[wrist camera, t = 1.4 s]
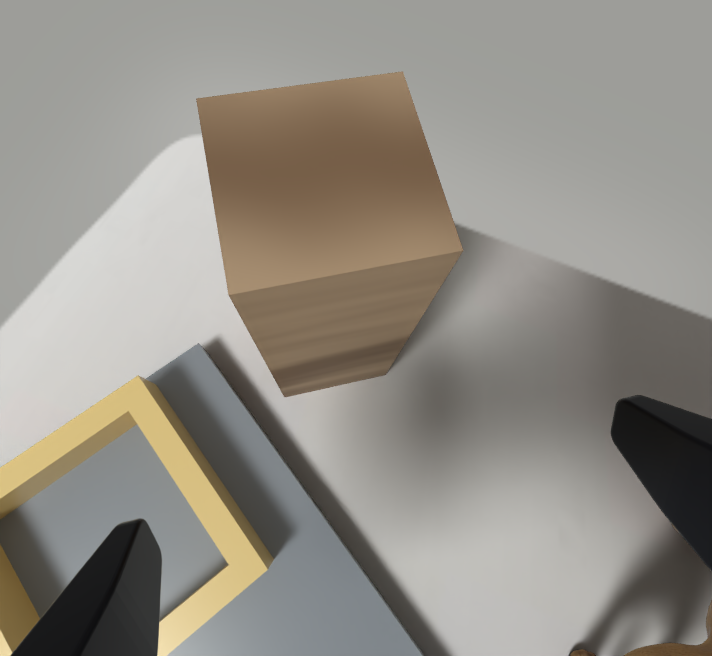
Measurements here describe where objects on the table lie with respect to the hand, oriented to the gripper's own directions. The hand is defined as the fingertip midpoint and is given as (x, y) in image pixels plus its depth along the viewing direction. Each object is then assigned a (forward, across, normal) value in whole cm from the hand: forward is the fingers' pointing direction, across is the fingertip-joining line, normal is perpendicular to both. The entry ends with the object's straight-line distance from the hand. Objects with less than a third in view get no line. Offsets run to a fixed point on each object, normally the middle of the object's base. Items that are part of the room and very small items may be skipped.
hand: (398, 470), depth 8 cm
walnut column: (+14, 0, +4) cm, 14 cm away
